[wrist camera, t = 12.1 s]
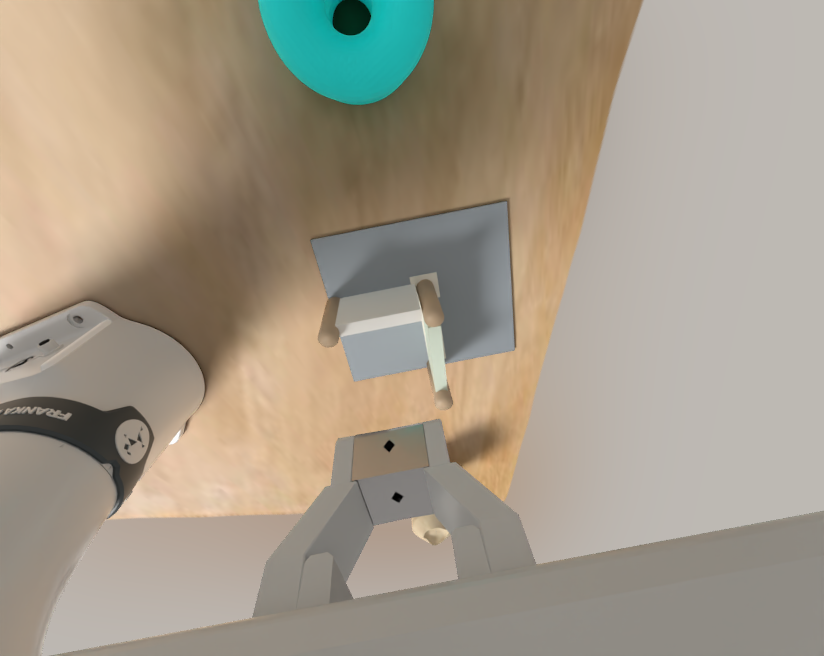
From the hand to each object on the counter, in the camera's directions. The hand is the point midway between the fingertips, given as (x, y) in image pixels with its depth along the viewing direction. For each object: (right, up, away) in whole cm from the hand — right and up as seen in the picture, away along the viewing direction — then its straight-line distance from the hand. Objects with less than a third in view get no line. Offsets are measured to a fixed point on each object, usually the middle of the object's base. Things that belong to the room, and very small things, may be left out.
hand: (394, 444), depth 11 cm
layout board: (+2, +6, +30) cm, 31 cm away
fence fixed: (-3, +7, +29) cm, 30 cm away
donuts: (-4, +26, +19) cm, 33 cm away
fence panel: (+3, +2, +32) cm, 32 cm away
